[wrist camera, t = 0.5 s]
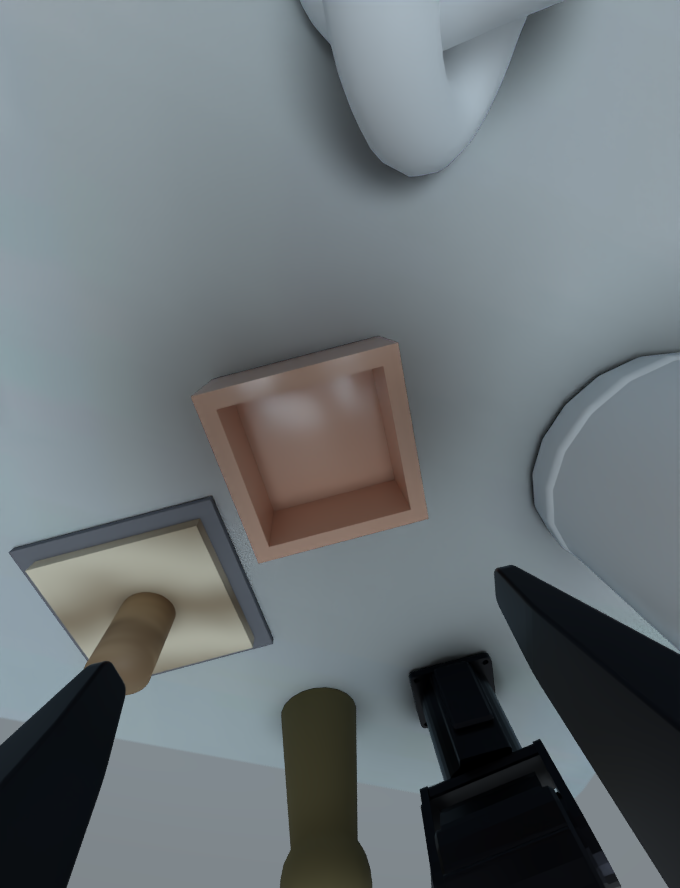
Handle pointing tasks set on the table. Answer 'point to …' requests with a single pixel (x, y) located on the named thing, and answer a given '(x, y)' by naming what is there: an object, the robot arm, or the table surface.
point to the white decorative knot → (421, 70)
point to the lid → (146, 602)
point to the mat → (152, 522)
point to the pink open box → (316, 447)
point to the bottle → (620, 485)
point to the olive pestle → (322, 792)
